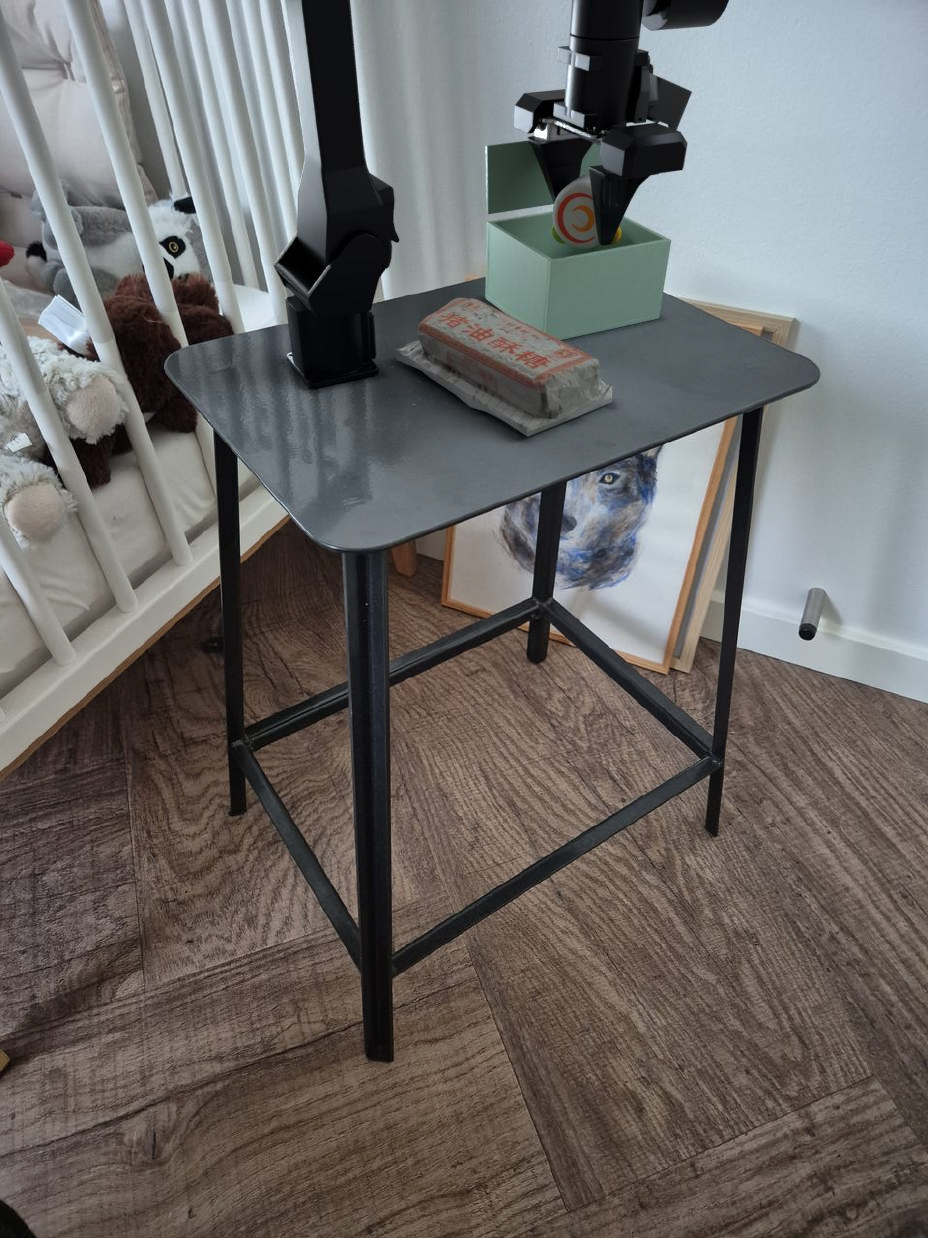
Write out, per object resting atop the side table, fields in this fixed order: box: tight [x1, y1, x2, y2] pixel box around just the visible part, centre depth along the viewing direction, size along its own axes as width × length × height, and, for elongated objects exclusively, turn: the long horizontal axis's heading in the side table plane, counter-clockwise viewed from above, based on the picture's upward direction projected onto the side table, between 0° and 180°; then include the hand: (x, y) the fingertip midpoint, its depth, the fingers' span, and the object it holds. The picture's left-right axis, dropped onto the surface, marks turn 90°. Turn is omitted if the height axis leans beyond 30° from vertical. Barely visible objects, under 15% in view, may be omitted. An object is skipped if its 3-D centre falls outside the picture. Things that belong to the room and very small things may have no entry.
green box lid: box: [485, 131, 604, 215], centre depth 85 cm, size 13×6×1 cm
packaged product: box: [393, 297, 613, 438], centre depth 75 cm, size 18×5×10 cm
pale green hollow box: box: [484, 210, 672, 341], centre depth 86 cm, size 13×12×8 cm
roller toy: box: [552, 174, 622, 249], centre depth 81 cm, size 4×6×6 cm
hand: (584, 233), depth 82 cm, fingers closed on roller toy, 6 cm apart
